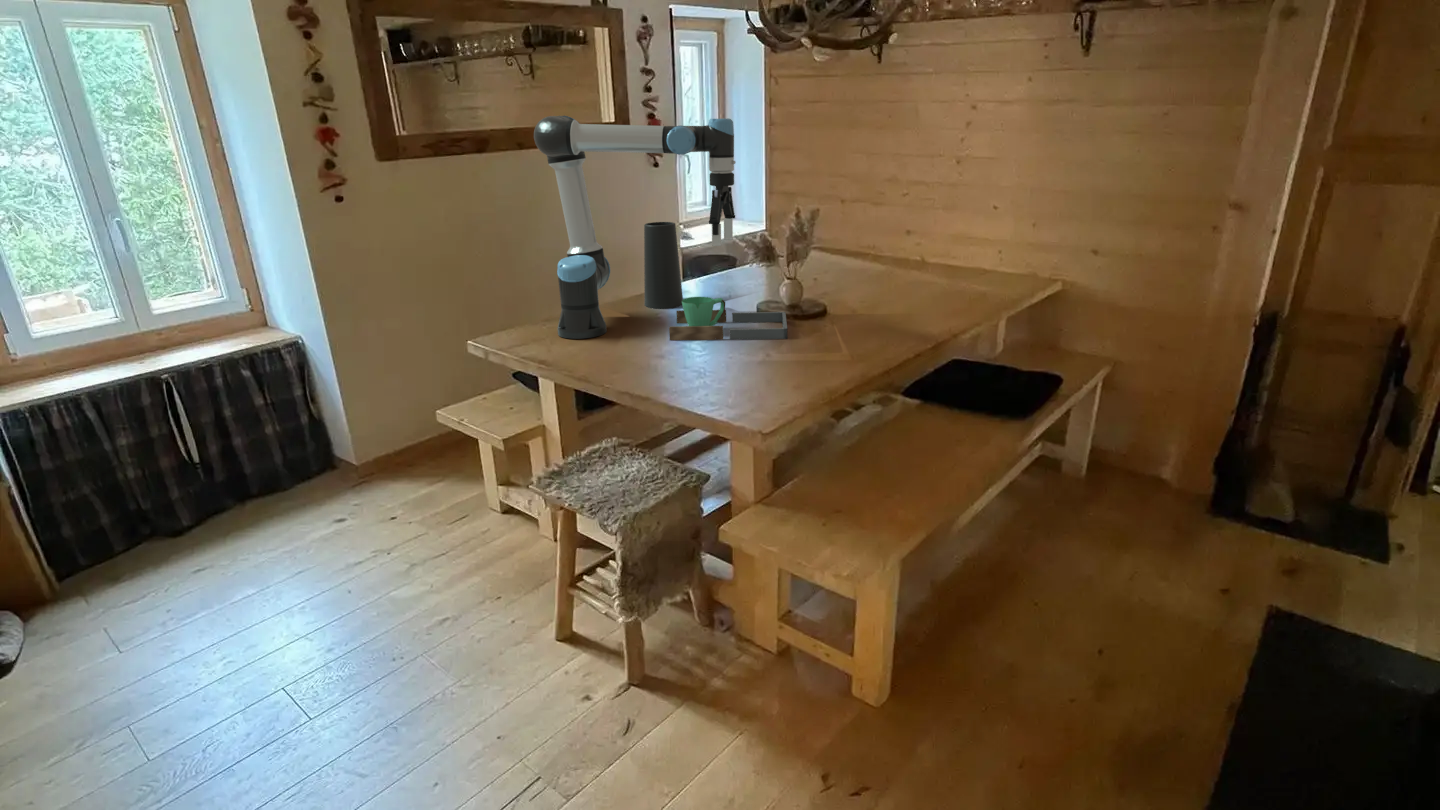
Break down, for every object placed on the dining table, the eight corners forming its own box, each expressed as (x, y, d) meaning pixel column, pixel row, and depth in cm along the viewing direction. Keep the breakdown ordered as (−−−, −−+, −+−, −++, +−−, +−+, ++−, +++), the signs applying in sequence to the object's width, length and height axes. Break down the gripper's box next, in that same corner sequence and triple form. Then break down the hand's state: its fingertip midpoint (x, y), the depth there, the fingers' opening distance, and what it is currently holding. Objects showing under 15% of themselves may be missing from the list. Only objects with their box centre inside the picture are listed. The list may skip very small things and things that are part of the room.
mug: (694, 337, 239) (692, 305, 235) (677, 331, 247) (675, 299, 243) (733, 329, 246) (733, 298, 243) (716, 324, 254) (715, 293, 251)
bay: (669, 340, 237) (669, 327, 235) (677, 322, 257) (676, 310, 256) (723, 339, 236) (722, 326, 234) (726, 321, 256) (726, 309, 255)
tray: (729, 339, 236) (729, 329, 235) (732, 321, 256) (732, 312, 255) (787, 338, 235) (787, 328, 234) (785, 321, 255) (785, 311, 254)
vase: (660, 313, 270) (655, 227, 261) (637, 307, 280) (631, 224, 270) (691, 306, 279) (687, 223, 269) (667, 301, 288) (663, 220, 279)
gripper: (722, 174, 230) (723, 248, 237) (743, 169, 252) (743, 237, 259) (697, 174, 231) (699, 248, 239) (721, 169, 254) (721, 236, 261)
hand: (722, 242), depth 249 cm, fingers open, 13 cm apart
